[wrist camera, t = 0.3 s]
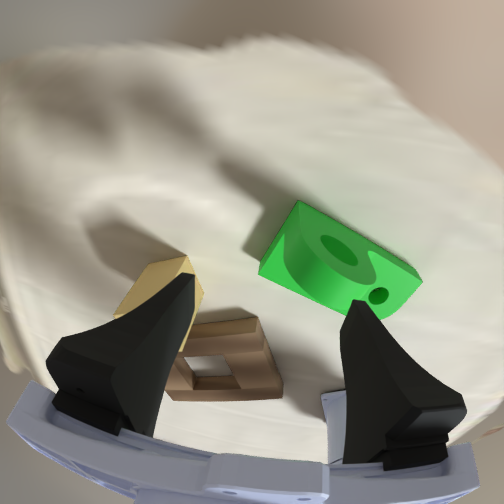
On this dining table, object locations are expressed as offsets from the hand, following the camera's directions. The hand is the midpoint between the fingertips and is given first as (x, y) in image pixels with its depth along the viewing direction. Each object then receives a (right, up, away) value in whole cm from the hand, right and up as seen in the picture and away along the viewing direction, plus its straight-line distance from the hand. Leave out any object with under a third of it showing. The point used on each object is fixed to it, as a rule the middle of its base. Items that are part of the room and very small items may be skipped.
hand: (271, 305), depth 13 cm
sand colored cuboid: (-8, 0, +13) cm, 15 cm away
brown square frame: (-5, -9, +18) cm, 21 cm away
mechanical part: (+7, +1, +10) cm, 12 cm away
